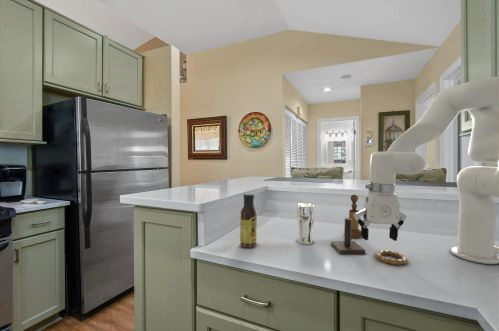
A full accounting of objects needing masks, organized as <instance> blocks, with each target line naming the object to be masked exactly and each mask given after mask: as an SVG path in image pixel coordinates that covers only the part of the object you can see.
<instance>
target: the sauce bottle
mask: <svg viewBox="0 0 499 331" xmlns="http://www.w3.org/2000/svg"><path fill="white" fill-rule="evenodd" d="M254 199H255V194H254V193H244V194H243V207H242V208H241V210H240V220H239V222H240V224H239V225H240V227H239V232H240V233H239V242H240V247H242V248H248V249H250V248H254V247H256V245H257V227H258V226H257V223H258V222H257V218H258V217H257V216H258V215H257V212H256V209H255V206H254Z"/></svg>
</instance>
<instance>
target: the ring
mask: <svg viewBox="0 0 499 331" xmlns="http://www.w3.org/2000/svg"><path fill="white" fill-rule="evenodd" d="M386 256H391V257H395V258H398V259H395V258H388V257H386ZM375 258H376V259H377V260H379V262H383V263H386V264H390V265H393V266H402V265H405V264H407V263H408V259H407V257H406V255H403V254H402V253H400V252H397V251H393V250H388V249H381V250H377V251H375Z"/></svg>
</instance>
